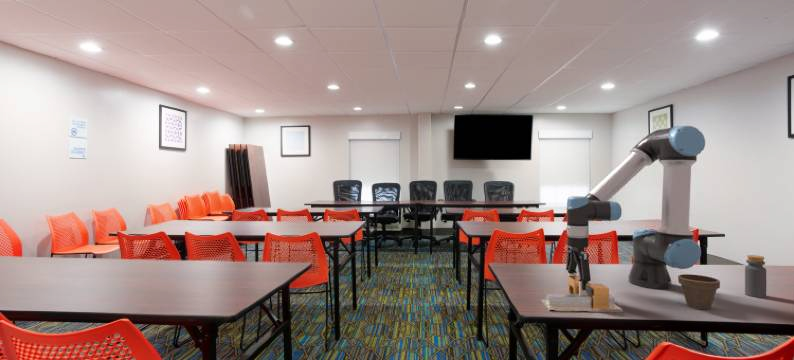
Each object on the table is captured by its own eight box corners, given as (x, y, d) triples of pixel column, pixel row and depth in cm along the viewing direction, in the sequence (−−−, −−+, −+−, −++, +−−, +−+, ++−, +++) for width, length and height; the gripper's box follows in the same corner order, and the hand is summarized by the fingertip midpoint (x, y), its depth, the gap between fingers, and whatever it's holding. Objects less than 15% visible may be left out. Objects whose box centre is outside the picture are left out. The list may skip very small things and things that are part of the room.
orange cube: (583, 292, 146) (582, 276, 146) (589, 297, 141) (589, 280, 141) (568, 292, 147) (568, 275, 147) (574, 296, 141) (574, 279, 141)
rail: (608, 303, 134) (608, 282, 134) (622, 312, 125) (622, 290, 125) (540, 302, 135) (540, 281, 135) (549, 311, 126) (549, 289, 126)
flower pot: (686, 298, 138) (685, 271, 138) (725, 307, 128) (725, 278, 128) (672, 304, 131) (672, 276, 131) (712, 314, 122) (712, 284, 122)
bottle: (760, 293, 142) (760, 255, 142) (770, 298, 137) (770, 258, 137) (741, 292, 144) (741, 254, 144) (750, 297, 139) (750, 257, 139)
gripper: (557, 231, 155) (557, 285, 155) (579, 241, 133) (579, 303, 133) (575, 232, 154) (575, 285, 155) (601, 241, 132) (601, 303, 133)
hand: (577, 293), depth 144 cm, fingers open, 9 cm apart
